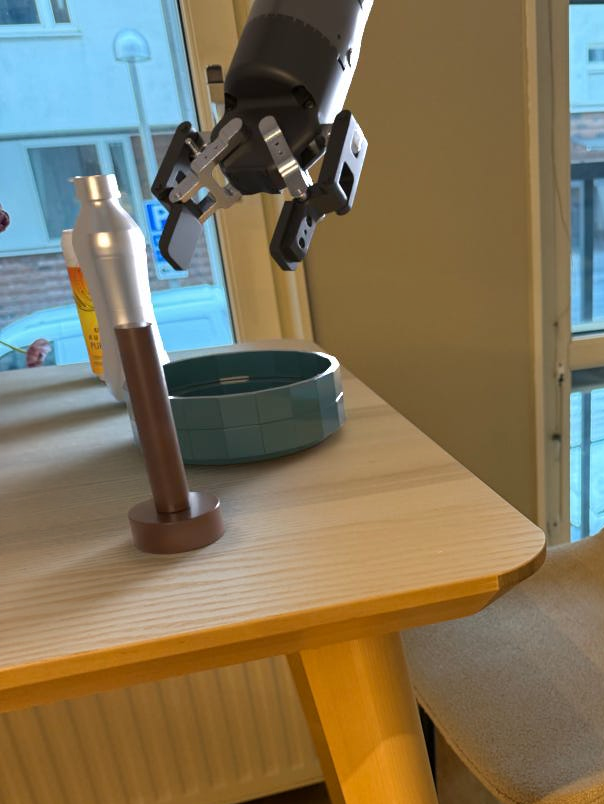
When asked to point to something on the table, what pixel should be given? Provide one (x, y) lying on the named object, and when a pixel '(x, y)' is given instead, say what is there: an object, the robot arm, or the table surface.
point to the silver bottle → (112, 269)
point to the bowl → (251, 404)
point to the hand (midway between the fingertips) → (225, 263)
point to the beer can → (83, 305)
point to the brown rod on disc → (162, 455)
